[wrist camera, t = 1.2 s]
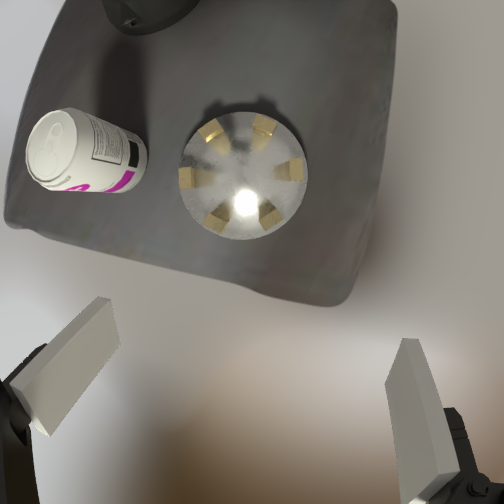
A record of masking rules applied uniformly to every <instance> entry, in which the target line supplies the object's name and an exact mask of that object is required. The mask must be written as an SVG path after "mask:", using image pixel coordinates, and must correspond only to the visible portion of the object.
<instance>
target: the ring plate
mask: <svg viewBox="0 0 504 504" xmlns="http://www.w3.org/2000/svg"><path fill="white" fill-rule="evenodd" d="M307 179H308V175H307V163H306V159H305V155H304V152H303V150H302V148H301V146H300V144H299V142H298V141H297V139H296V138H295V136H294V135H293V134H292V133H291V132H290V131H289V130H288V129H287V128H286V127H285V126H284V125H282V124H281V123H280V122H278V121H276V120H275V119H273V118H271V117H268V116H266V115H263V114H259V113H254V112H235V113H229V114H225V115H222V116H220V117H217V118H214V119H213V120H211V121H210V122H208V123H206V124H205V125H204V126H203V127H201V128H200V129H198V131H197V132H196V133H195V134H194V135H193V137H192V138H191V139H190V141H189V142H188V144H187V146H186V147H185V149H184V152H183V154H182V157H181V161H180V165H179V172H178V181H179V189H180V193H181V196H182V199H183V202H184V204H185V206H186V208H187V209H188V211H189V212H190V214H191V215H192V216H193V218H194V219H195V220H196V221H197V222H198V223H199V224H201V225H202V226H203V227H204V228H206V229H207V230H209V231H211V232H212V233H215V234H217V235H219V236H222V237H226V238H230V239H240V240H246V239H254V238H258V237H262V236H265V235H267V234H270V233H272V232H273V231H275V230H277V229H278V228H280V227H281V226H282V225H284V224H285V223H286V222H287V221H288V220H289V219H290V218H291V217H292V216H293V215H294V213H295V212H296V211H297V209H298V207H299V206H300V204H301V202H302V199H303V197H304V194H305V190H306V186H307Z"/></svg>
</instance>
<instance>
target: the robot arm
mask: <svg viewBox="0 0 504 504" xmlns="http://www.w3.org/2000/svg"><path fill="white" fill-rule="evenodd" d="M198 1H199V0H102V2H103V5H104V8H105V12H106V15H107V17H108V19H109V21H110V22H111V23H112V24H113V25H114V26H115V27H116V28H117V29H118V30H120V31H121V32H123V33H126V34H130V35H144V34H150V33H154V32H157V31H160V30H162V29H165V28H167V27H169V26H171V25H173V24H175V23H176V22H178V21H179V20H181V19H182V18H183V17H185V16H186V15H187V14H188V13H189V12H190V11H191V10H192V9H193V8H194V7H195V6H196V4H197V3H198ZM120 344H121V343H120V340H119V335H118V331H117V326H116V322H115V317H114V313H113V308H112V303H111V299H107V298H102V297H97V298H96V299H95V300H94V301H93V302H92V303H91V304H90V305H88V306H87V307H86V308H85V309H84V310H83V311H82V312H81V313H80V314H79V315H78V316H77V317H76V318H75V319H73V320H72V321H71V322H70V323H69V324H68V325H67V326H66V327H65V328H64V329H63V330H62V331H61V332H60V333H59V334H58V335H57V336H56V337H55V338H54V339H53V340H52V341H51V342H50V343H48V344H46V343H45V344H43V345H41V346H39V347H37V348H36V349H35V350H34V351H33V352H32V353H31V354H30V355H29V357H27V358H26V359H24V361H23V363H21V364H20V365H19V366H18V367H17V368H16V369H15V370H14V371H13V372H12V373H11V374H10V375H9V376H8V377H7V378H6V379H5V380H4V381H3V382H2V381H1V380H0V504H40V502H39V496H38V490H37V484H36V477H35V470H34V462H33V453H32V440H31V430H30V427H29V424H30V422H31V421H32V422H33V424H34V425H35V427H36V428H37V430H39V431H41V432H42V433H44V434H46V435H47V436H49V437H51V435H52V434H53V432H54V431H55V430H56V428H57V427H58V426H59V424H60V423H61V422H62V420H63V419H64V417H65V416H66V415H67V414H68V412H69V411H70V410H71V408H72V407H73V406H74V404H75V403H76V402H77V400H78V399H79V398H80V396H81V395H82V394H83V392H84V391H85V390H86V388H87V387H88V386H89V385H90V383H91V382H92V381H93V379H94V378H95V377H96V375H97V374H98V373H99V372H100V370H101V369H102V368H103V367H104V365H105V364H106V363H107V361H108V360H109V359H110V358H111V356H112V355H113V354H114V353H115V351H116V350H117V349H118V347H119V346H120ZM385 388H386V393H387V399H388V405H389V410H390V416H391V423H392V429H393V435H394V443H395V450H396V458H397V467H398V476H399V486H400V497H401V504H425V503H426V502H427V501H429V504H504V484H502V483H493V482H490V480H489V478H488V477H487V476H485V475H484V474H482V473H479V472H478V469H477V466H476V462H475V459H474V455H473V452H472V448H471V445H470V442H469V439H468V435H467V432H466V430H465V426H464V422H463V420H462V417H461V415H460V414H459V413H458V412H457V411H456V409H455V408H454V407H453V408H443V407H442V404H441V400H440V397H439V394H438V391H437V388H436V385H435V382H434V380H433V377H432V374H431V371H430V368H429V366H428V363H427V360H426V357H425V355H424V352H423V349H422V347H421V344H420V342H419V339H408V338H403V339H402V341H401V344H400V347H399V350H398V352H397V355H396V358H395V360H394V363H393V365H392V368H391V370H390V373H389V375H388V377H387V380H386V382H385Z"/></svg>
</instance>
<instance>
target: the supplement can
mask: <svg viewBox="0 0 504 504" xmlns="http://www.w3.org/2000/svg"><path fill="white" fill-rule="evenodd" d="M26 164H27V167H28V171H29V173H30V174H31V176H32V177H33V179H34V180H36V181H38V182H39V183H40V184H41V185H42V186H43V187H45V188H47V189H49V190H60V191H89V192H111V193H122V192H125V191H127V190H130V189H132V188H133V187H134V186H135V185H136V184H137V183H138V182H139V181H140V179H141V178H142V176H143V174H144V173H145V169H146V165H147V150H146V148H145V145H144V143H143V141H142V140H141V139H140V138H139V137H138V136H137V135H136V134H134V133H132V132H129V131H127V130H125V129H122V128H120V127H118V126H116V125H113V124H111V123H109V122H106V121H104V120H102V119H99V118H97V117H94V116H92V115H90V114H87V113H85V112H82V111H80V110H77V109H74V108H64V109H60V110H57V111H52V112H49V113H48V114H46V115H45V116H43V117H42V118H41V119H40V120H39V121H38V123H37V124H36V125H35V126H34V128H33V130H32V132H31V134H30V136H29V139H28V143H27V147H26Z"/></svg>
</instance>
